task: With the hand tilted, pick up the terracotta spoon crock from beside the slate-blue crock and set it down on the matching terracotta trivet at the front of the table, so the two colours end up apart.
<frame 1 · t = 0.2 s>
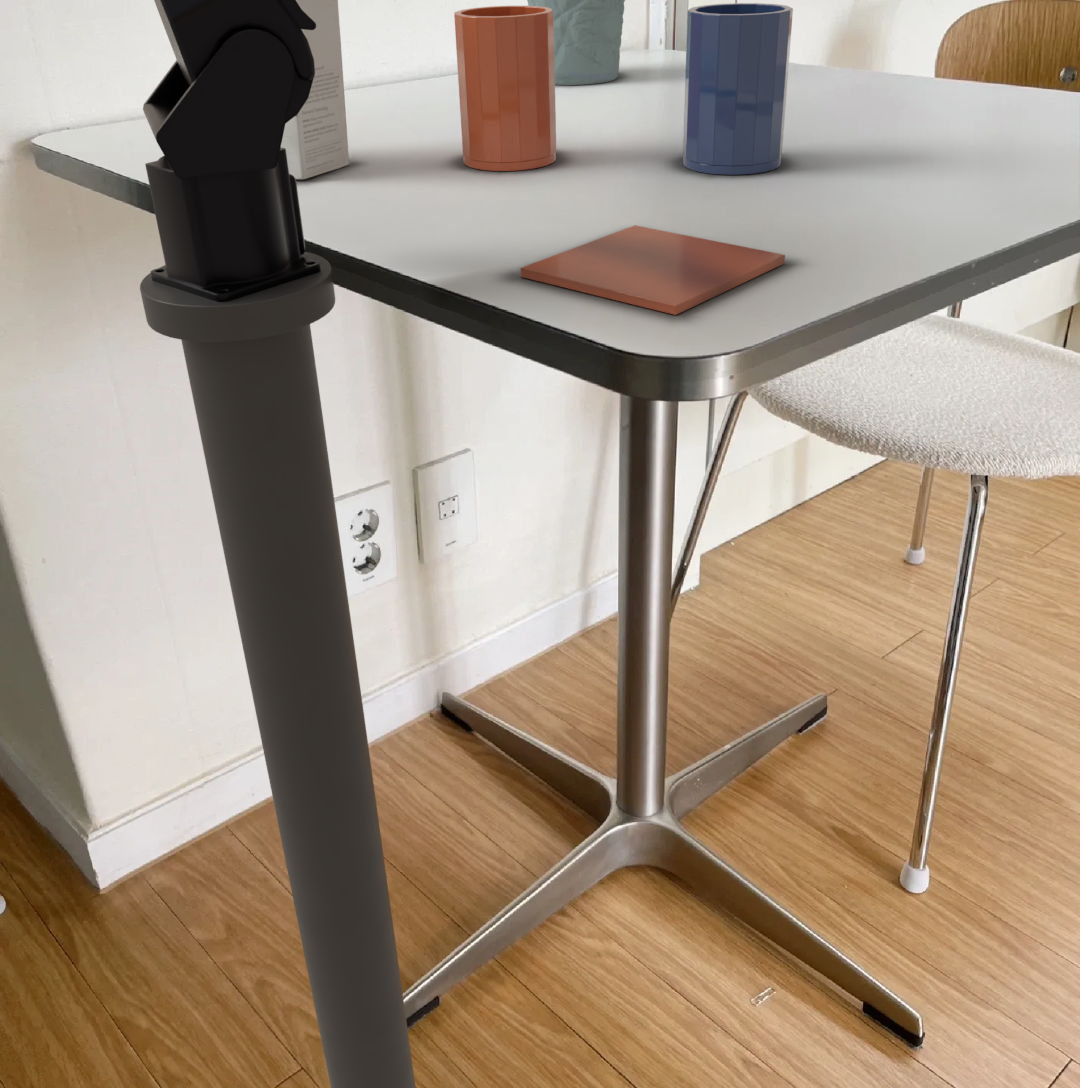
grey-green textured cylinder: (578, 80, 115), on the table
cosmetic box: (288, 171, 84), on the table
blue crock: (731, 163, 81), on the table
terracotta trivet: (653, 270, 61), on the table
terracotta crock: (509, 160, 84), on the table
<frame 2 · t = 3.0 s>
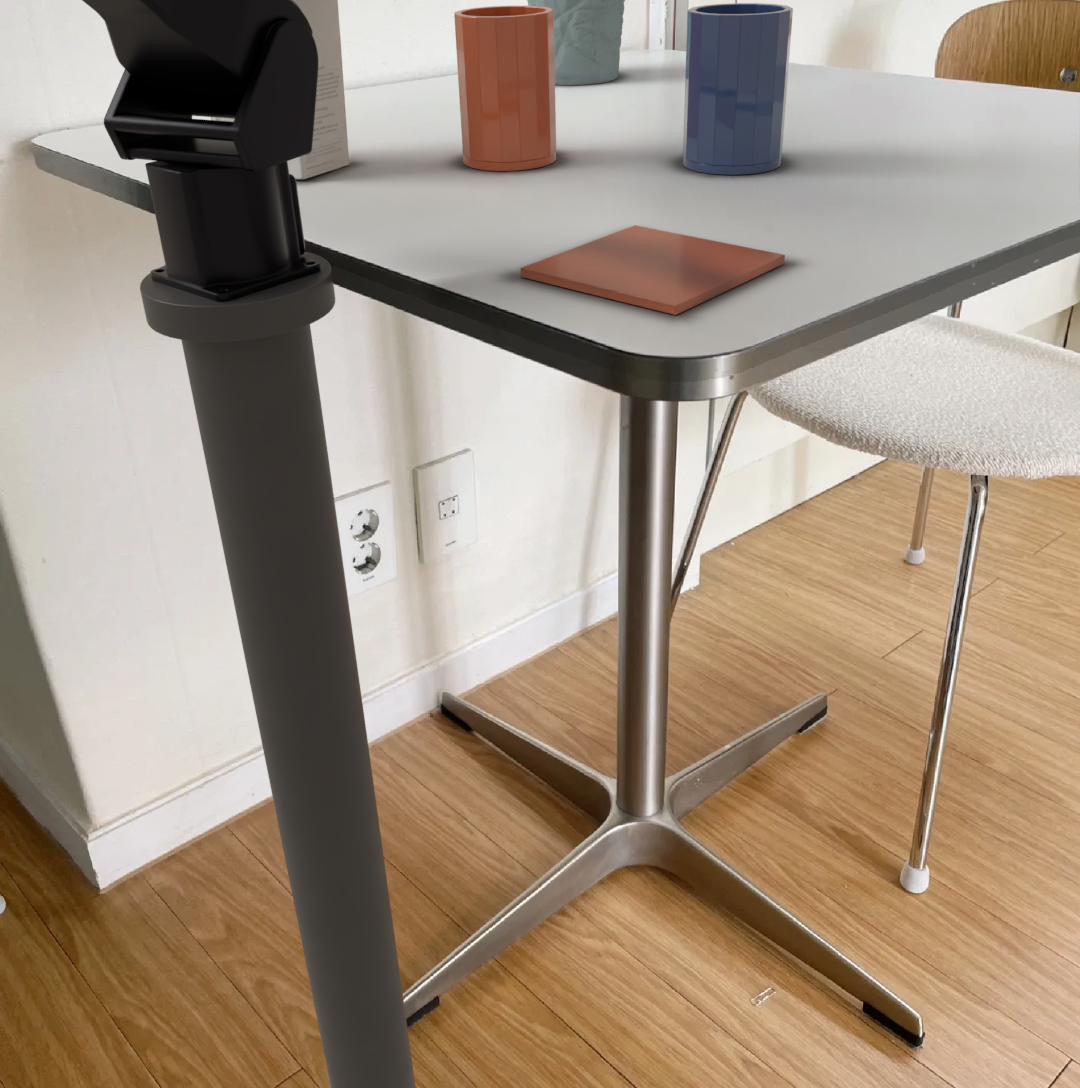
nothing on the table moved.
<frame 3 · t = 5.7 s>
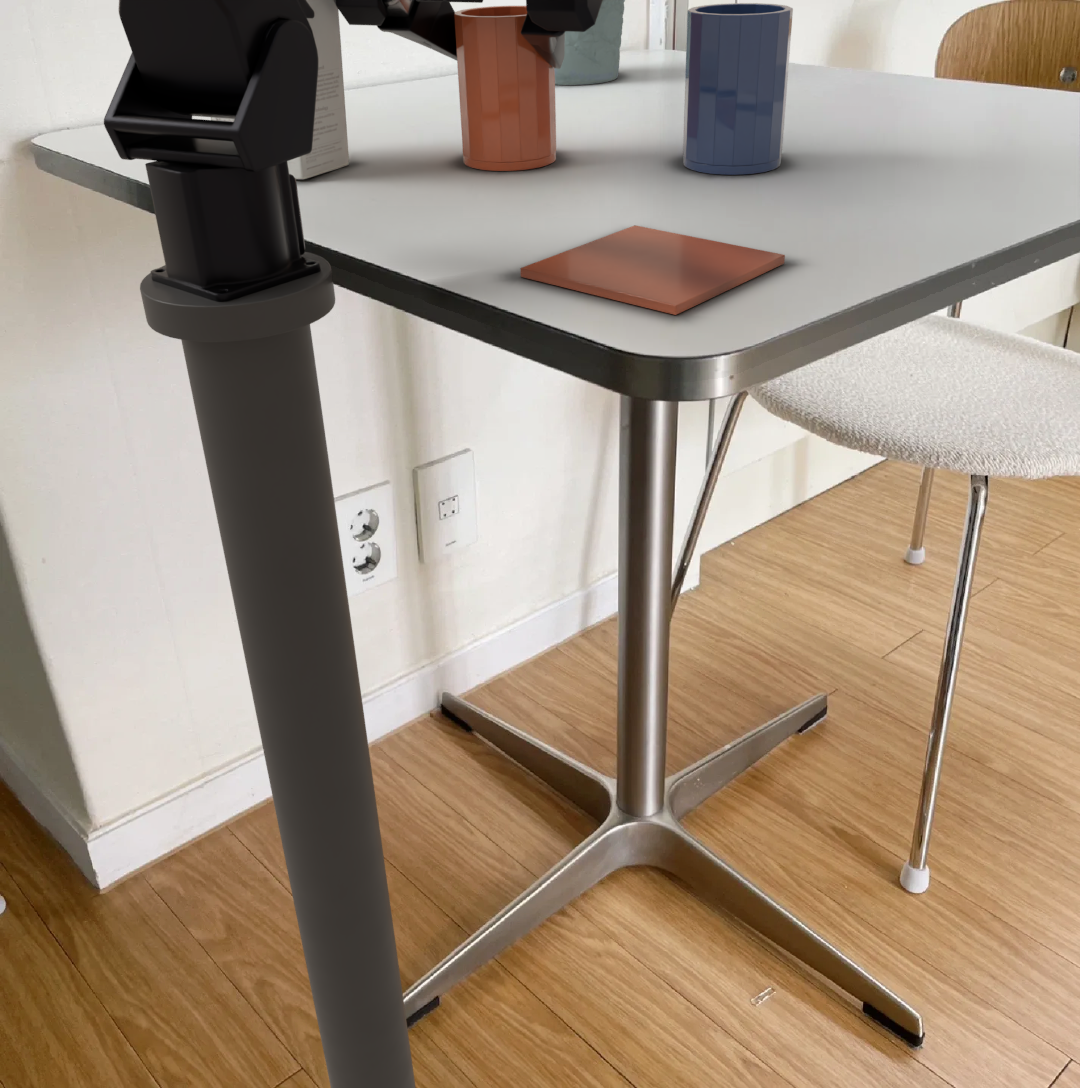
hand: (514, 61, 82), 7 cm above the table, tool tilted 45°, fingers closed on terracotta crock, 7 cm apart
terracotta crock: (509, 160, 84), on the table, touching gripper
everything else where it was.
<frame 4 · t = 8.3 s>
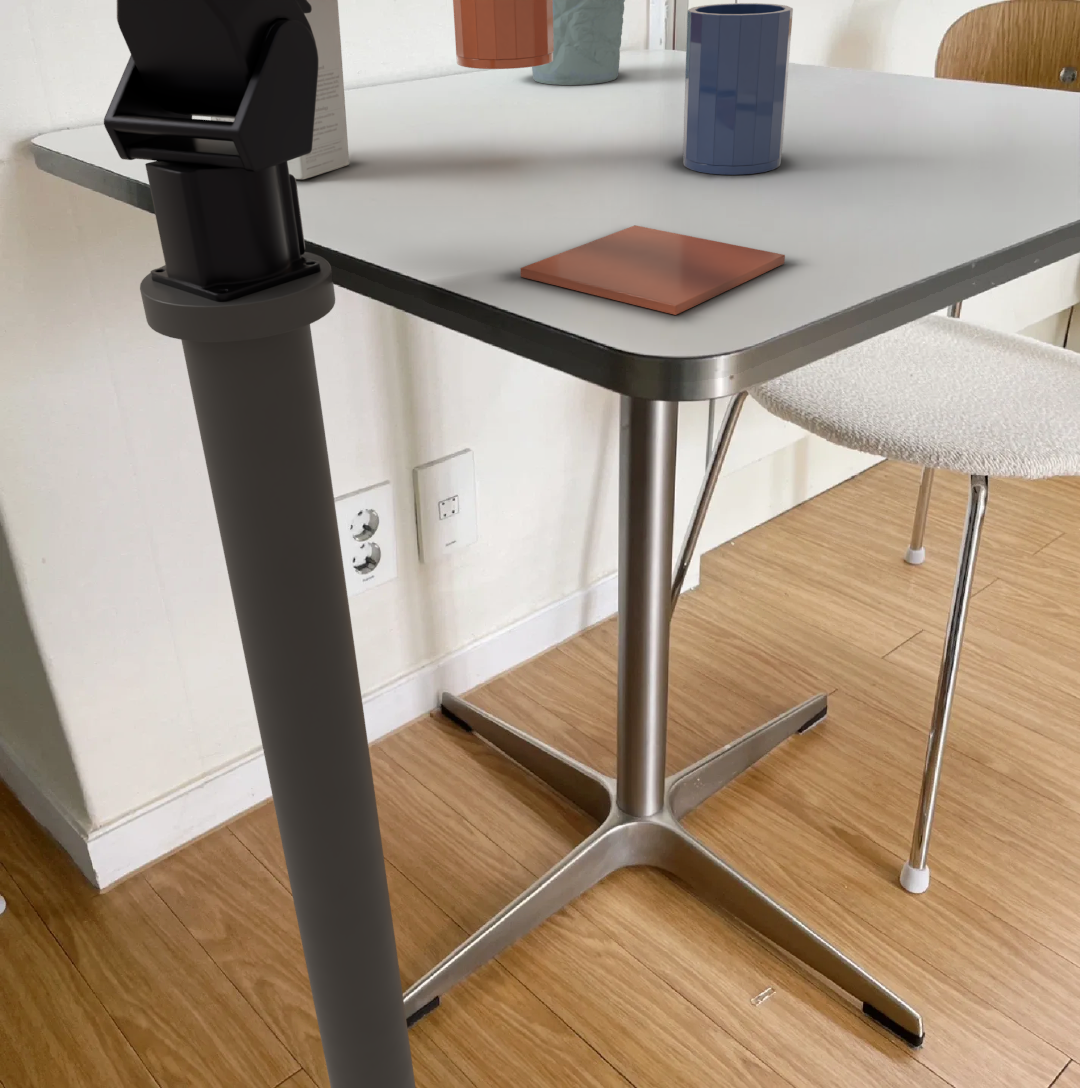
terracotta crock: (505, 61, 81), point 7 cm above the table, touching gripper
everything else where it was.
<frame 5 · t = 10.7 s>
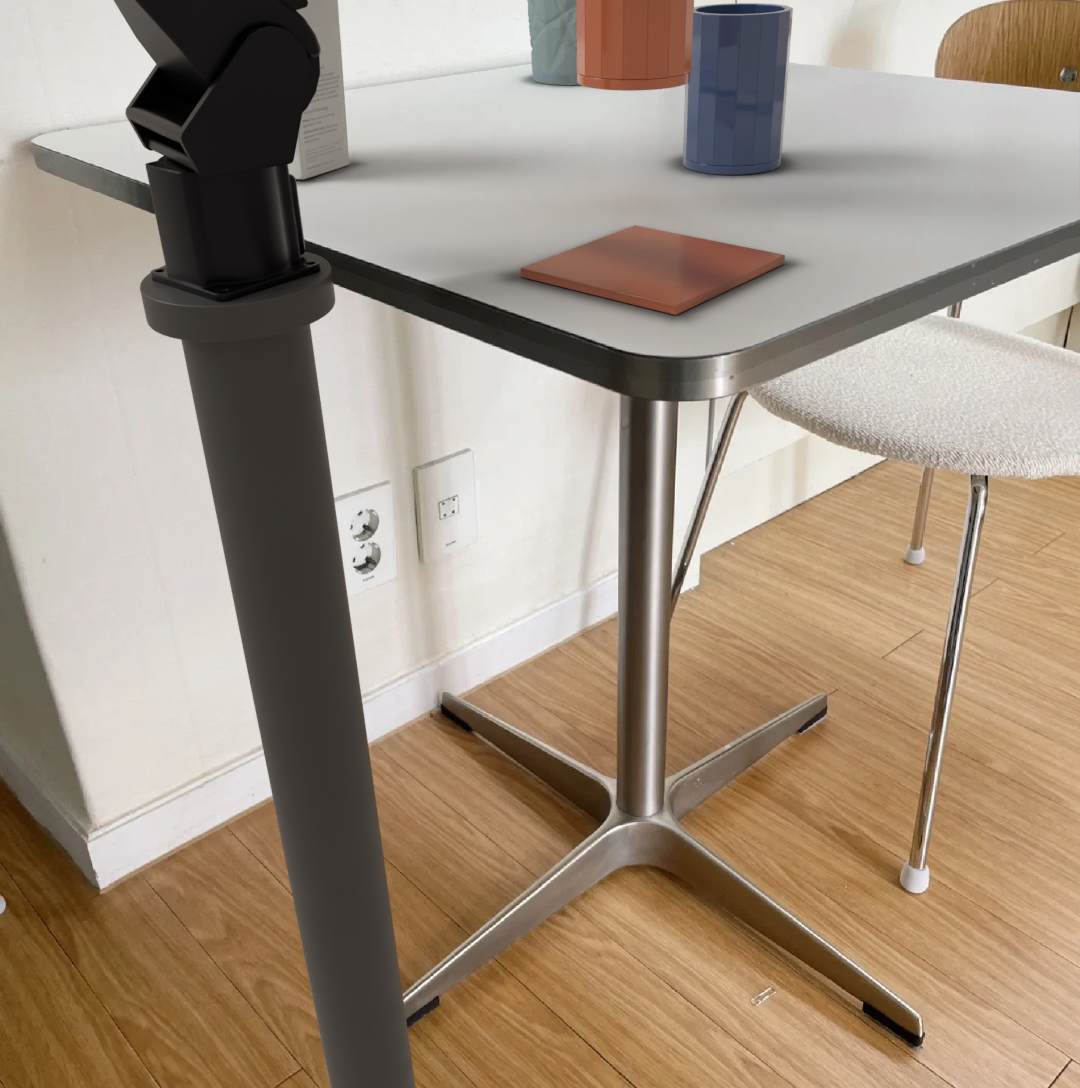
terracotta crock: (633, 81, 69), point 7 cm above the table, touching gripper
everything else where it was.
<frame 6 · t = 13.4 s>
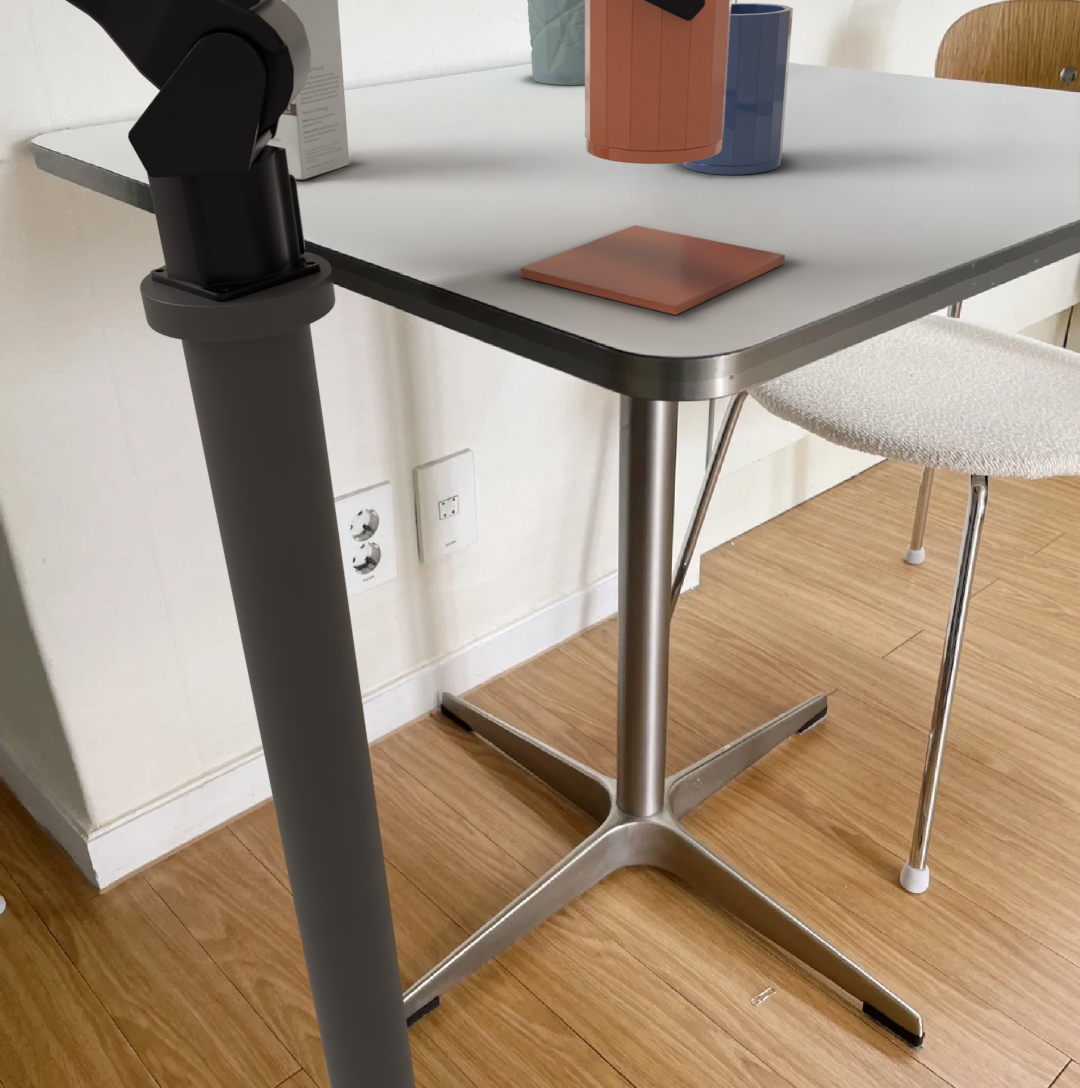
hand: (686, 4, 54), 13 cm above the table, tool tilted 45°, fingers closed on terracotta crock, 7 cm apart
terracotta crock: (653, 148, 58), point 6 cm above the table, touching gripper
everything else where it was.
when the fingers open (7 cm above the table, at t = 15.6 s): terracotta crock stays where it is, resting on terracotta trivet.
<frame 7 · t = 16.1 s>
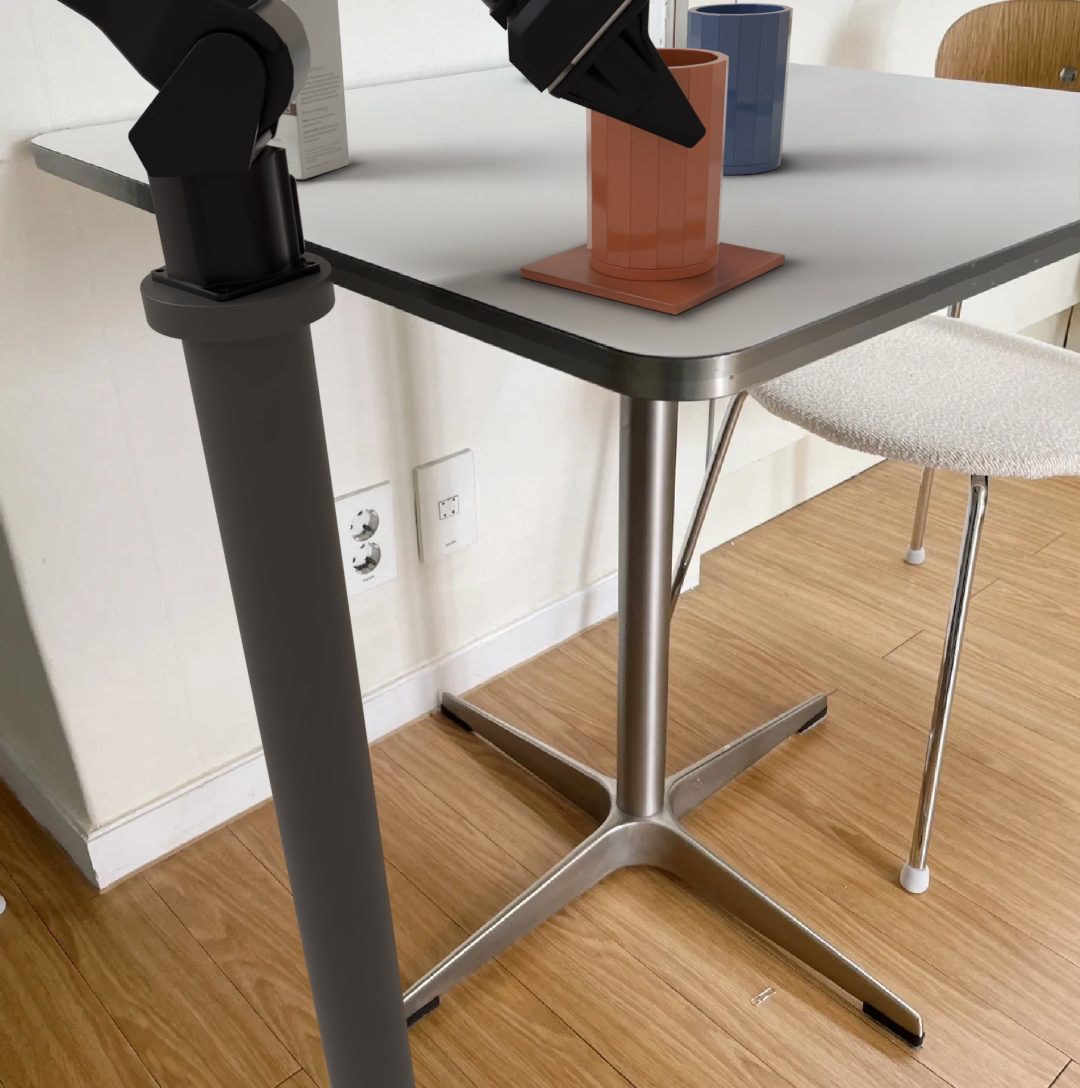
hand: (684, 121, 57), 8 cm above the table, tool tilted 45°, fingers open, 9 cm apart
terracotta crock: (652, 261, 61), resting on terracotta trivet
everything else where it was.
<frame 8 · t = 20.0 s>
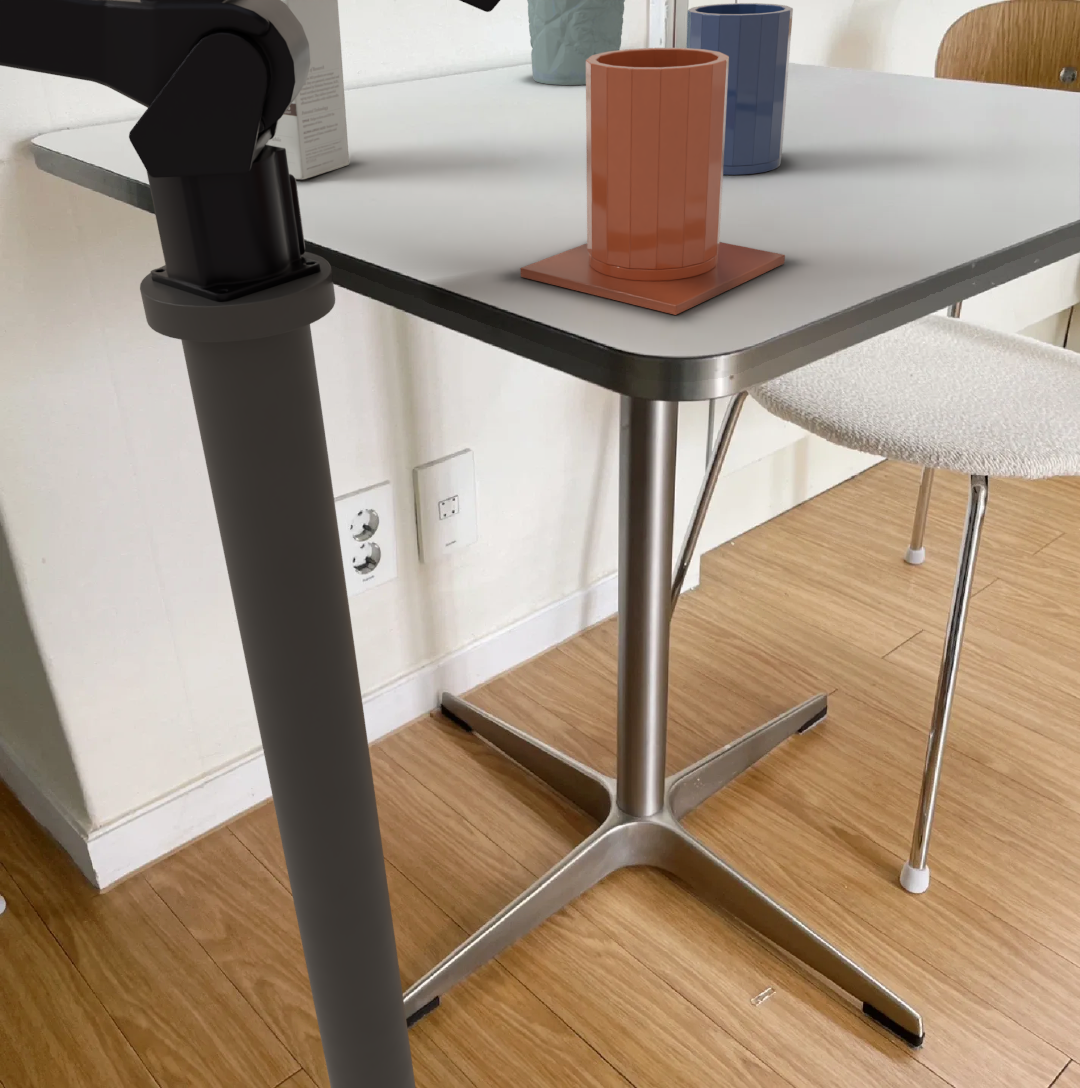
nothing on the table moved.
at the end: terracotta crock inside the target area on the terracotta trivet (0.0 cm from its centre), point 0.5 cm above the terracotta trivet's base; terracotta crock tilted 0°; blue crock moved 0.0 cm from its start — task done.
